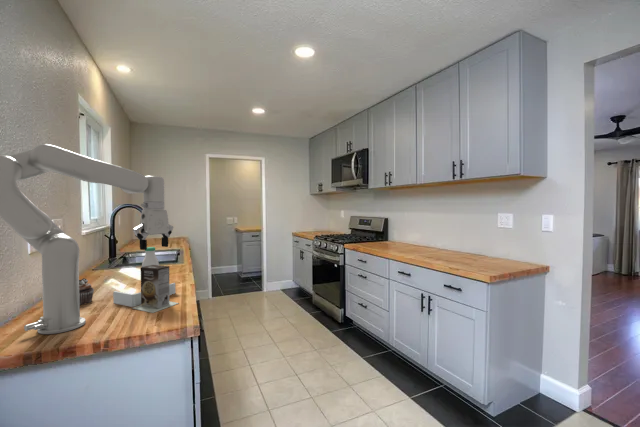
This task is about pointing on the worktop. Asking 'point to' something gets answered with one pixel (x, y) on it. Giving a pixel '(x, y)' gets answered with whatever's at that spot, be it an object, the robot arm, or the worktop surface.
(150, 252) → the milk bottle
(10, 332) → the worktop surface
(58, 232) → the robot arm
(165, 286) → the coffee box
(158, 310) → the pad
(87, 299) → the cupcake
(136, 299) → the grey l-shaped block
